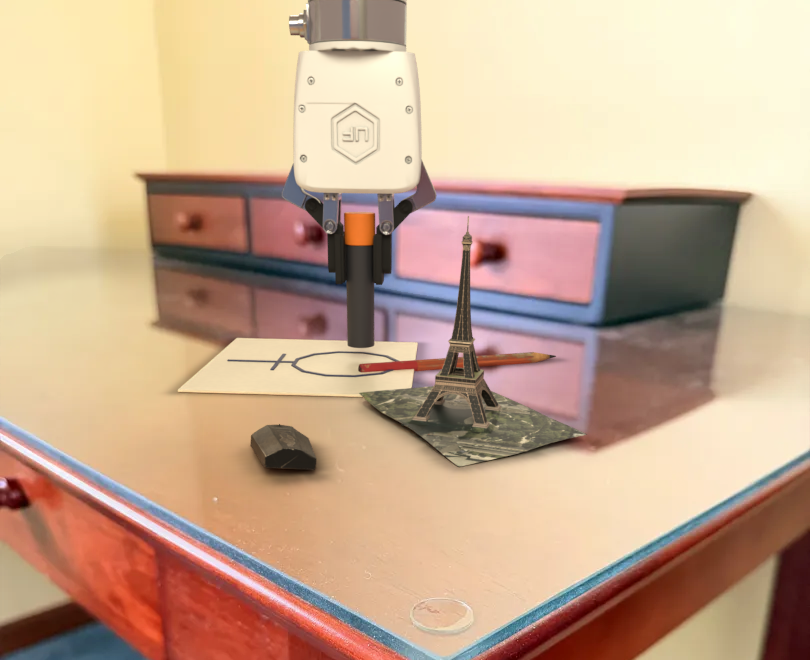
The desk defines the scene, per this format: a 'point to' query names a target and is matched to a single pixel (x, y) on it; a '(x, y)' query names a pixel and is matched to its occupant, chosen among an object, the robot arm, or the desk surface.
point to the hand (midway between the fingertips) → (360, 280)
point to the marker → (359, 278)
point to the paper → (302, 368)
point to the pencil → (438, 363)
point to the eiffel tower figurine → (468, 401)
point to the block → (283, 448)
